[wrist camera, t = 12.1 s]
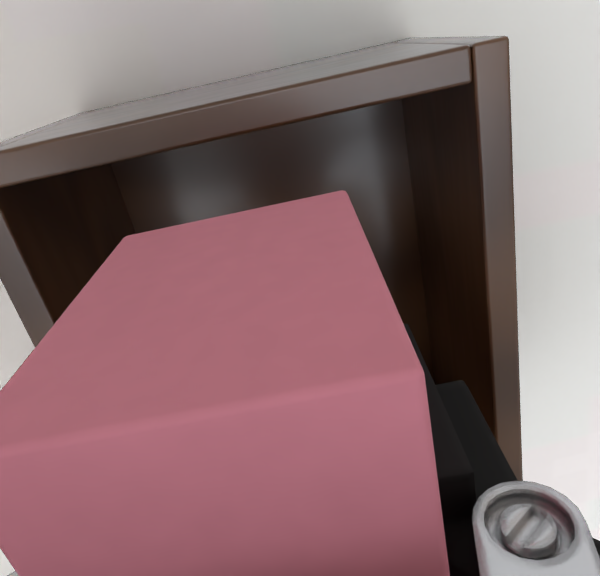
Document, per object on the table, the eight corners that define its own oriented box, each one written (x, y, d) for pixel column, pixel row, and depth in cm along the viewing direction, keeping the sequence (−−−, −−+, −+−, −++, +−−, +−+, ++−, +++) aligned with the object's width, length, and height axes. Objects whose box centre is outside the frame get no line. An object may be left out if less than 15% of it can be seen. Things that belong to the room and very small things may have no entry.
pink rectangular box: (243, 556, 13) (218, 882, 8) (122, 235, 9) (-63, 462, 4) (405, 528, 13) (485, 847, 8) (346, 187, 9) (426, 370, 4)
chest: (78, 113, 20) (-59, 163, 12) (412, 37, 19) (510, 34, 11) (197, 433, 26) (163, 604, 18) (448, 385, 26) (525, 540, 18)
